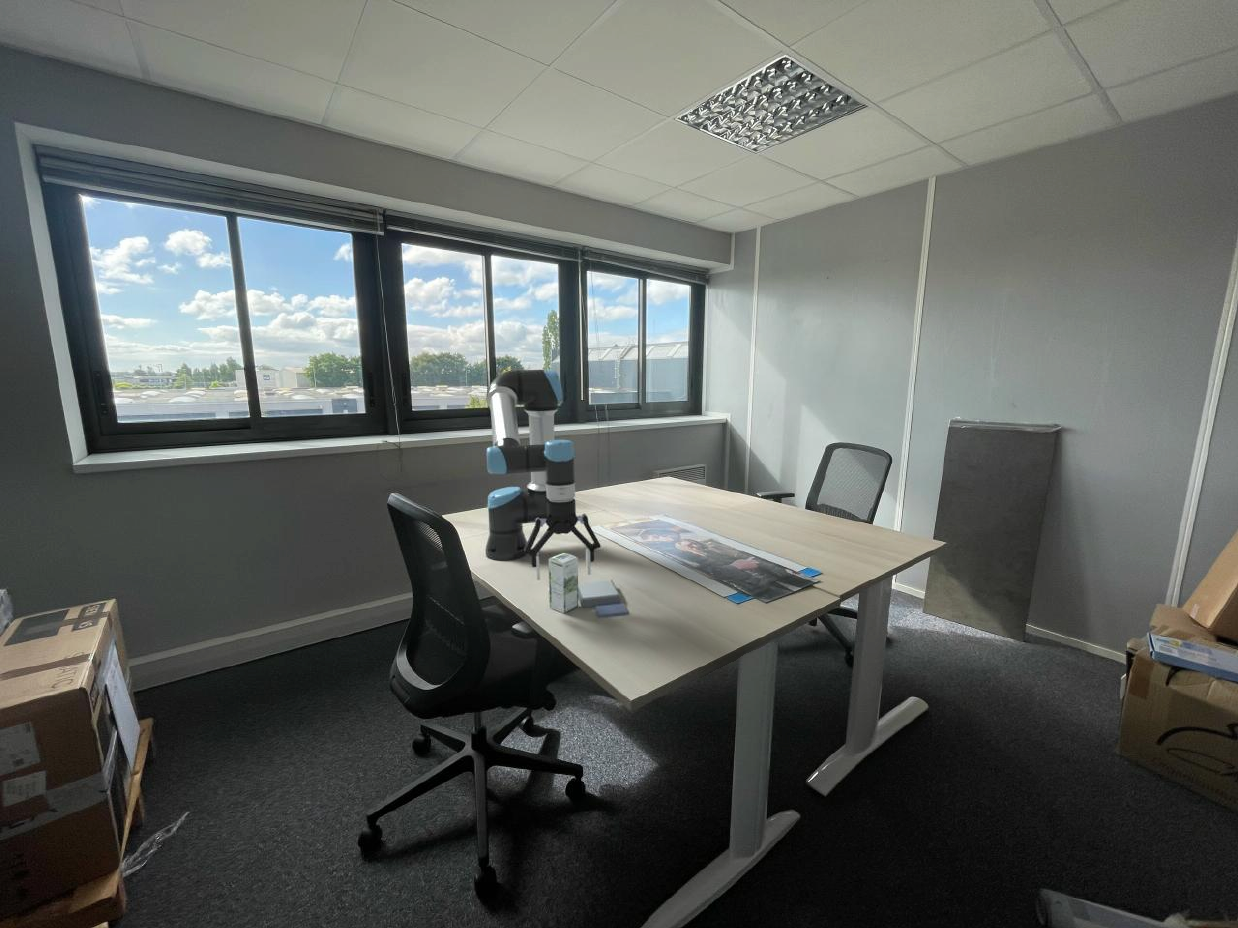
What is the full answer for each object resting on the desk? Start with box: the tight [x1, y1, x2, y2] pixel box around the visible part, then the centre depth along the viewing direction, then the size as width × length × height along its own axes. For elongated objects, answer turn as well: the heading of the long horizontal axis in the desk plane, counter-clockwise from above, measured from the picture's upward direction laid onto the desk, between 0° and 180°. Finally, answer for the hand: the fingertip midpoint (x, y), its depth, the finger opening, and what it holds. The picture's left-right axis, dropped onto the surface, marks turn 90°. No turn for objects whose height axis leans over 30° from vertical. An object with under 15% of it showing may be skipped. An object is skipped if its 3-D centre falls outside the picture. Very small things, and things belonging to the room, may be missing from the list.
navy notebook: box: [594, 602, 629, 618], centre depth 130 cm, size 5×8×1 cm, turn 103°
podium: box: [578, 579, 622, 608], centre depth 139 cm, size 11×11×2 cm
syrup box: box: [548, 552, 579, 614], centre depth 132 cm, size 6×6×14 cm
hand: (563, 575), depth 131 cm, fingers open, 13 cm apart
